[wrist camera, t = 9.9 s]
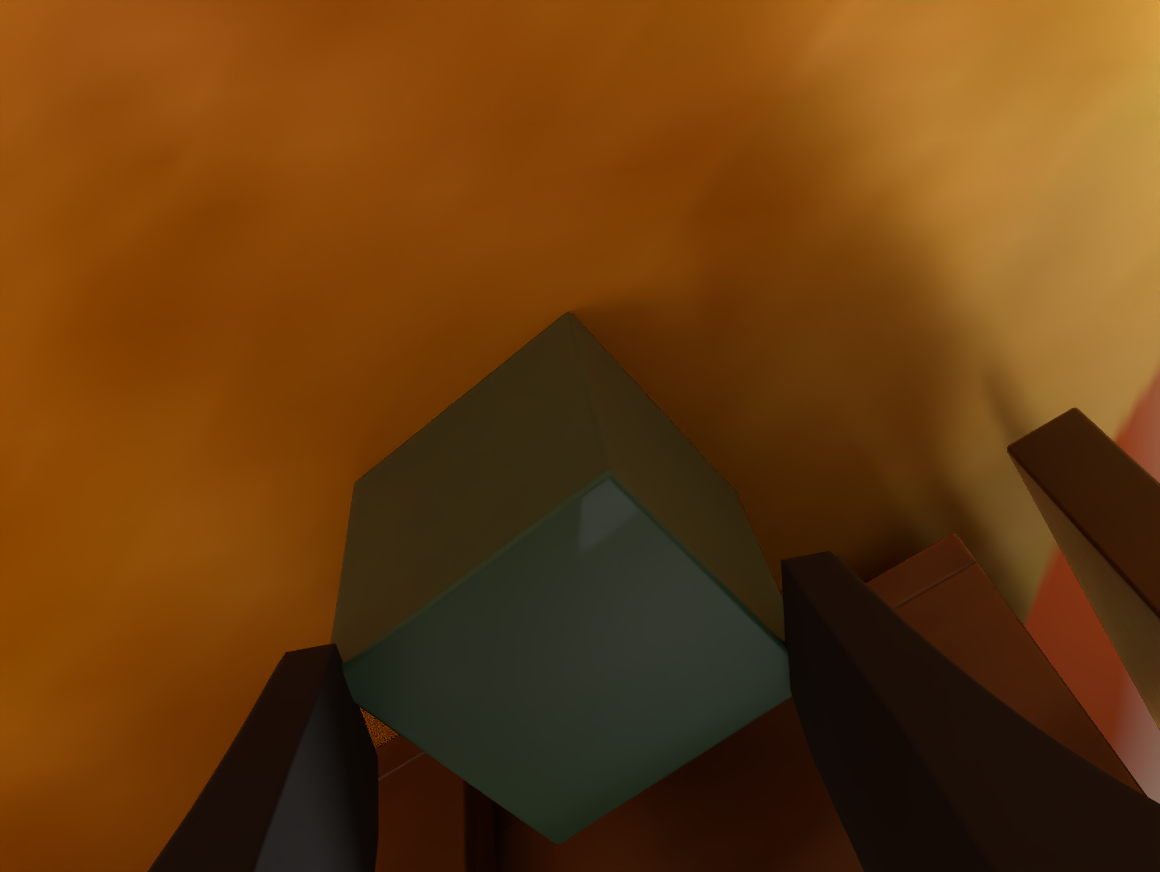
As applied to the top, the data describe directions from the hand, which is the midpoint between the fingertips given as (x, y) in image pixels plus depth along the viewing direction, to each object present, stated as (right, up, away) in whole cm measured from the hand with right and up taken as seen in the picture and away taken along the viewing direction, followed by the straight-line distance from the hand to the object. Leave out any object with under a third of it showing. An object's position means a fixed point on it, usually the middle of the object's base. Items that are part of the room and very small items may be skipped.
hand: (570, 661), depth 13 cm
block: (0, +2, +4) cm, 4 cm away
